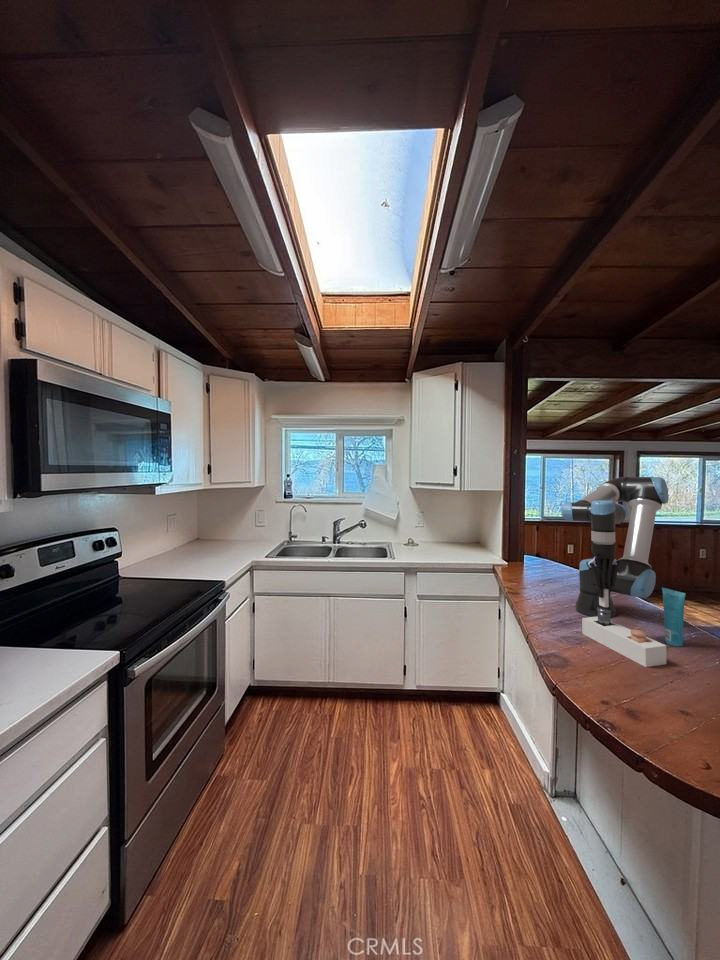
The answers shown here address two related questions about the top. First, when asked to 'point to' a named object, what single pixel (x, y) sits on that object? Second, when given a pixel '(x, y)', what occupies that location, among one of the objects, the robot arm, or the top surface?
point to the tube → (673, 616)
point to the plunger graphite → (604, 616)
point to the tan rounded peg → (638, 635)
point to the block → (625, 642)
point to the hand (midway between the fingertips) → (603, 606)
